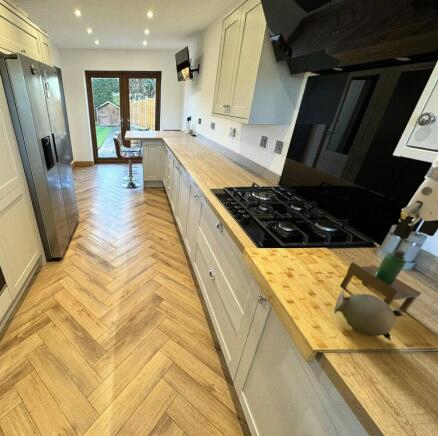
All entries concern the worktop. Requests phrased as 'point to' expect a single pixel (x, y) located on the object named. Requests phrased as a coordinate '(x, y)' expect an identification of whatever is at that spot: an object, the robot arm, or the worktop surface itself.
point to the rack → (382, 285)
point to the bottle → (391, 266)
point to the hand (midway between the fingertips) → (412, 235)
